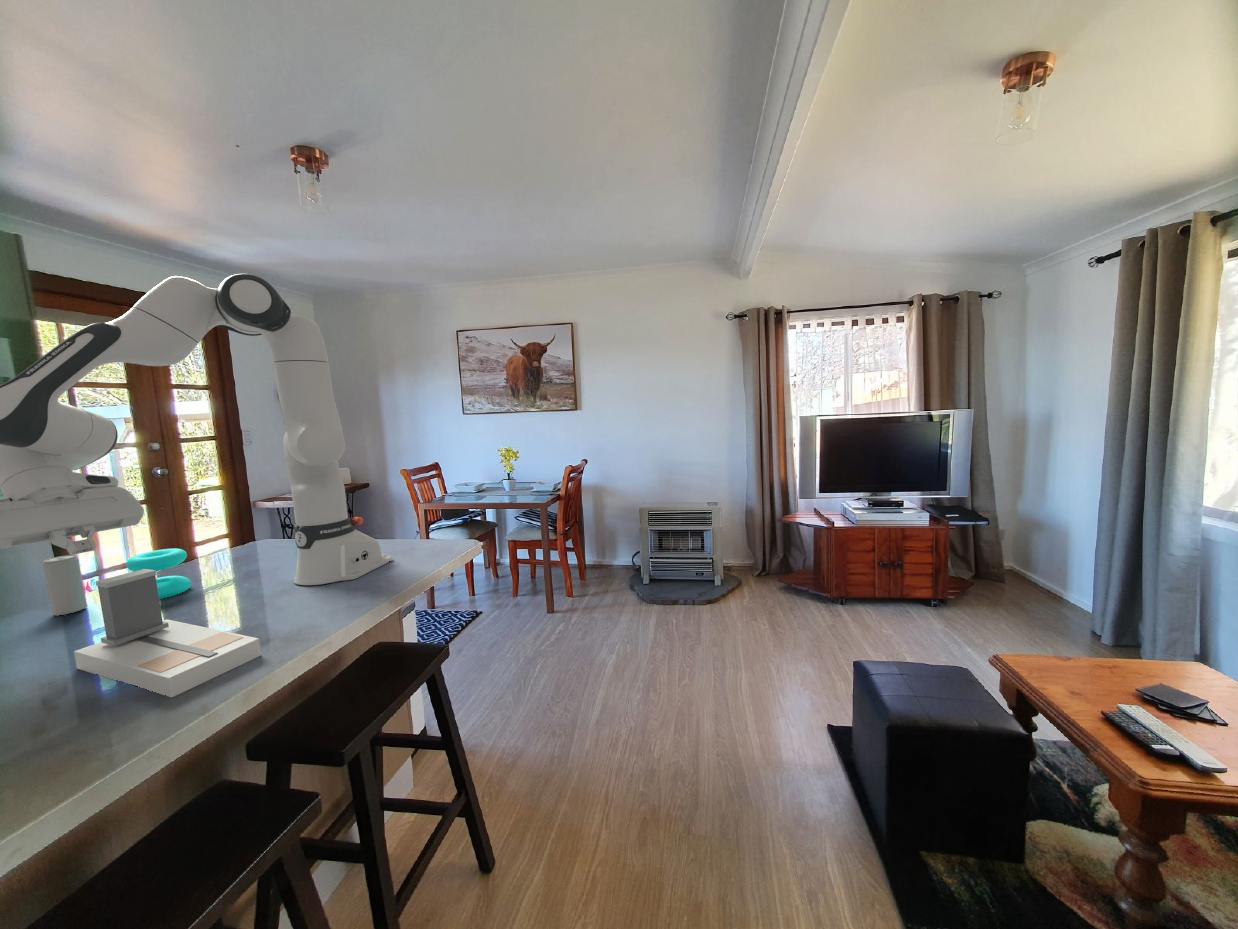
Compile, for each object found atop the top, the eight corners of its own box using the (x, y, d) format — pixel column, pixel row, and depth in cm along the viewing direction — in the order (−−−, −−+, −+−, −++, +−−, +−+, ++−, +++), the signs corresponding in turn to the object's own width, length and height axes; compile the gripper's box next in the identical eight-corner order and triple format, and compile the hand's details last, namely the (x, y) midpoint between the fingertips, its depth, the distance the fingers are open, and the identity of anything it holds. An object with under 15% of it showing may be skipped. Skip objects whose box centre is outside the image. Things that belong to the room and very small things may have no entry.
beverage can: (62, 617, 96) (52, 562, 95) (46, 616, 97) (35, 561, 96) (93, 607, 101) (83, 554, 99) (76, 606, 102) (67, 554, 100)
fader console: (77, 668, 75) (73, 650, 75) (169, 634, 86) (166, 618, 86) (171, 697, 66) (168, 676, 66) (261, 655, 77) (258, 637, 77)
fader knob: (101, 642, 76) (90, 582, 75) (155, 624, 83) (146, 567, 82) (114, 646, 75) (104, 584, 74) (168, 627, 81) (159, 569, 80)
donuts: (196, 545, 112) (165, 557, 102) (202, 584, 113) (171, 600, 103) (148, 549, 110) (111, 562, 100) (154, 589, 111) (118, 605, 101)
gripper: (-47, 493, 73) (-8, 557, 71) (126, 475, 92) (161, 525, 90) (-53, 519, 75) (-15, 582, 73) (117, 496, 94) (151, 546, 92)
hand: (84, 550), depth 81 cm, fingers closed
